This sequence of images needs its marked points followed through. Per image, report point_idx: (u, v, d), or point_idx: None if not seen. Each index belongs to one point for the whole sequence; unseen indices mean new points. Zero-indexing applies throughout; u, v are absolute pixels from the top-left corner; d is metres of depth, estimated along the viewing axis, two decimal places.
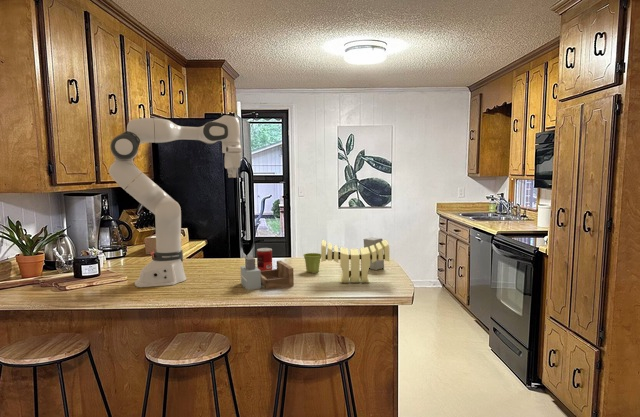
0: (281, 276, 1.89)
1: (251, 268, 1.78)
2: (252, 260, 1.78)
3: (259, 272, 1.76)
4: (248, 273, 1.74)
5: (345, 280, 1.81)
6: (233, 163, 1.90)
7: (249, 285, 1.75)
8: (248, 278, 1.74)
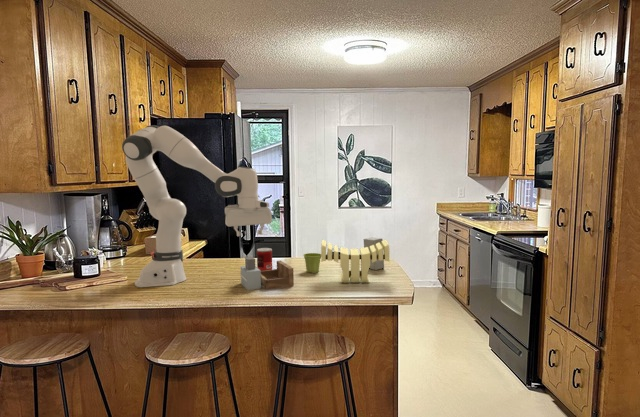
0: (281, 276, 1.89)
1: (251, 268, 1.78)
2: (252, 260, 1.78)
3: (259, 272, 1.76)
4: (248, 273, 1.74)
5: (345, 280, 1.81)
6: None
7: (249, 285, 1.75)
8: (248, 278, 1.74)
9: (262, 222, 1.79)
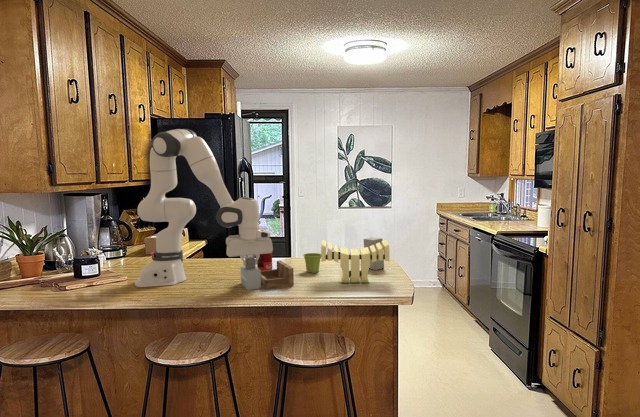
0: (281, 276, 1.89)
1: (251, 268, 1.78)
2: (252, 260, 1.78)
3: (259, 272, 1.76)
4: (248, 273, 1.74)
5: (345, 280, 1.81)
6: None
7: (249, 284, 1.75)
8: (248, 278, 1.74)
9: (263, 252, 1.80)
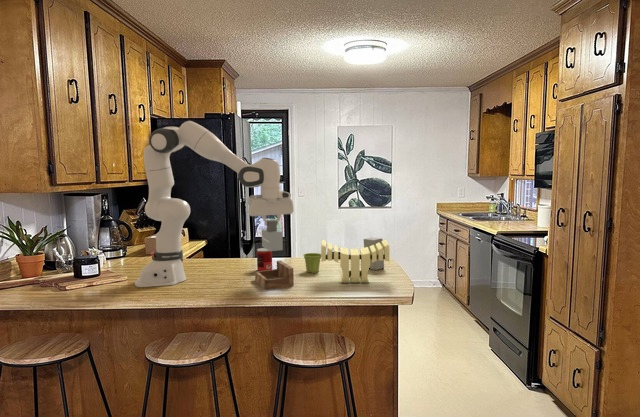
0: (281, 276, 1.89)
1: (273, 230, 1.81)
2: (274, 222, 1.81)
3: (281, 234, 1.79)
4: (270, 234, 1.77)
5: (345, 280, 1.81)
6: None
7: (271, 246, 1.77)
8: (270, 239, 1.77)
9: (284, 212, 1.83)
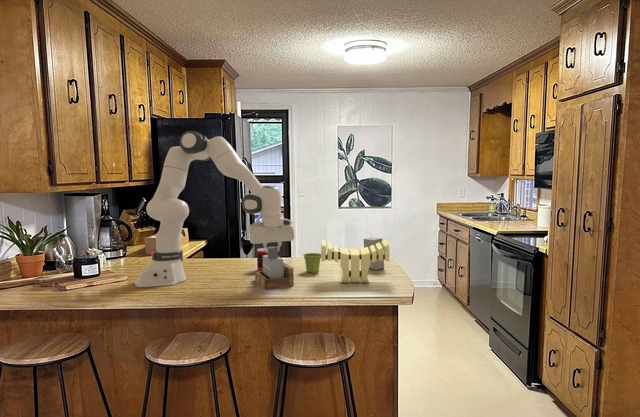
0: None
1: (274, 257, 1.82)
2: (275, 249, 1.82)
3: (282, 261, 1.80)
4: (271, 262, 1.78)
5: (345, 280, 1.81)
6: None
7: (272, 273, 1.79)
8: (271, 267, 1.79)
9: (285, 239, 1.85)
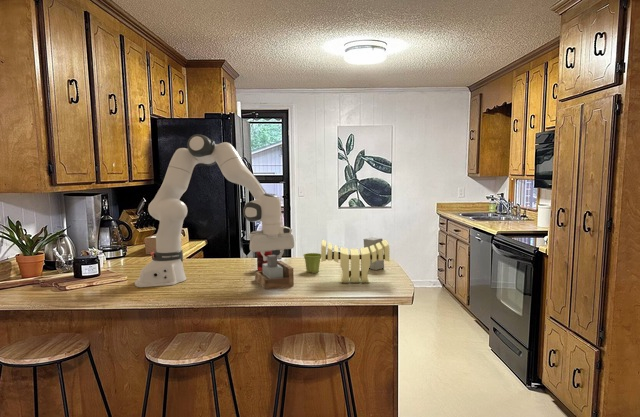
0: None
1: (273, 265, 1.82)
2: (274, 258, 1.82)
3: (281, 269, 1.80)
4: (271, 270, 1.79)
5: (345, 280, 1.81)
6: None
7: None
8: (271, 275, 1.79)
9: (285, 247, 1.85)
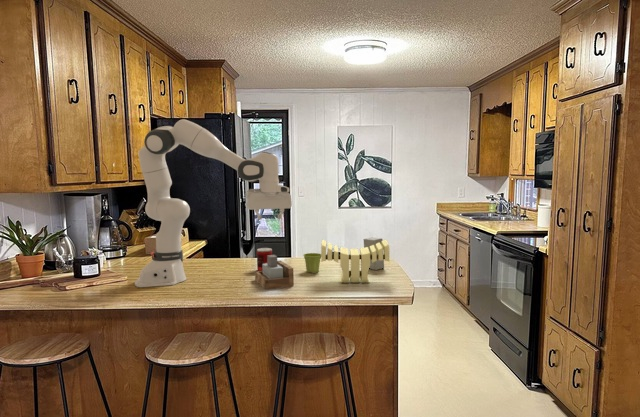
0: None
1: (273, 265, 1.83)
2: (274, 258, 1.82)
3: (281, 269, 1.80)
4: (271, 270, 1.79)
5: (345, 280, 1.81)
6: None
7: None
8: (271, 275, 1.79)
9: (282, 206, 1.84)
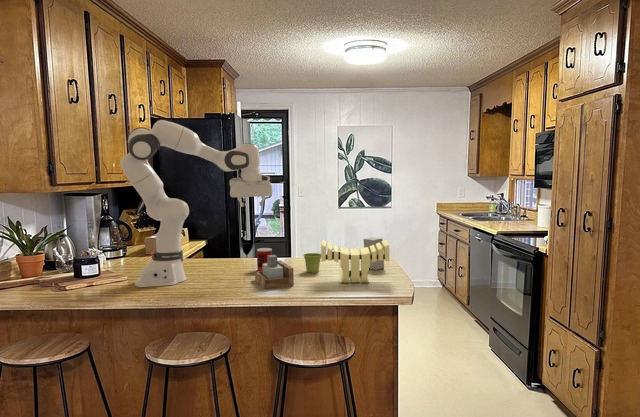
0: None
1: (273, 265, 1.83)
2: (274, 258, 1.82)
3: (281, 269, 1.80)
4: (271, 270, 1.79)
5: (345, 280, 1.81)
6: None
7: None
8: (271, 275, 1.79)
9: (263, 194, 1.97)
